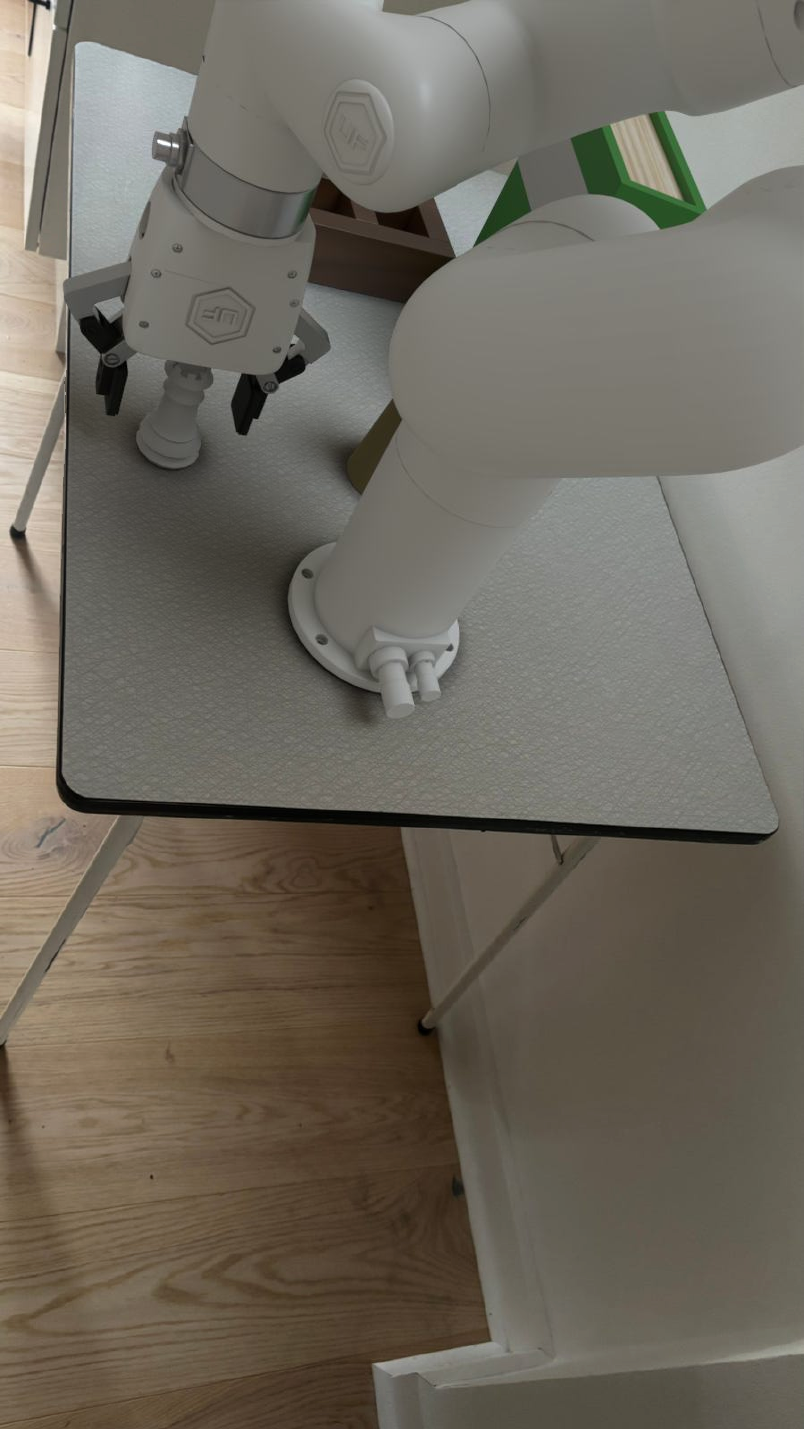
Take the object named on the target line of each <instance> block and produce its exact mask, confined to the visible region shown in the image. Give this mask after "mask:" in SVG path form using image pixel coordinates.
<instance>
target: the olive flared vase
mask: <svg viewBox="0 0 804 1429" xmlns="http://www.w3.org/2000/svg"><path fill="white" fill-rule="evenodd" d="M401 421H402V418H401V416H400V414H399V412H398V410H397V408H396V406H395V403H394V400H393V397H392V398H391V399H390V401H389V402H388V403H387V405H386V406H385V408H384V409H383V411H382V412H381V413H380V415H379V416H378V418H377V419H376V420H375V422H374V423H373V424H372V426H371V427H370V428H369V430H368V432H366V434H365V436H364V437H363V438H362V440H361V441H360V442H359V444H358V445H357V447H356V448H355V449H354V451H353V452H352V454H351V455H350V457H349V458H348V460H347V461H346V473H347V477H348V480H349V481H350V482H351V484H352V485H353V487H354V488H355V489H356V491H358V492H359V493H360V494H361V495H362V494H363V492H364V490H365V488H366V486H367V485H368V483H369V481H370V479H371V477H372V475H373V473H374V471H375V469H376V468H377V466H378V464H379V462H380V460H381V458H382V456H383V454H384V452H385V450H386V449H387V447H388V445H389V443H390V441H391V439H392V437H393V435H394V434H395V432H396V430H397V428H398V427H399V425H400V423H401Z"/></svg>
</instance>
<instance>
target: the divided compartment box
mask: <svg viewBox="0 0 804 1429" xmlns="http://www.w3.org/2000/svg"><path fill="white" fill-rule="evenodd" d="M309 214H310V216H311V219H312V222H313V224H314V226H315V229H316V237H315V246H314V253H313V258H312V264H311V269H310V274H309V278H308V282H307V283H312V284H317V285H321V286H325V287H326V286H327V287H330V288H335V289H339V290H343V291H344V290H345V291H349V292H352V293H357V294H361V295H362V294H363V295H367V296H370V297H376V298H380V299H385V300H390V301H394V302H398V303H403V304H406V303H407V301H408V300H409V299H410V297H411V296H412V295H413V293H414V292H415V291H416V290H417V288H418V287H419V286H420V285H421V284H422V283H423V282H424V281H425V280H426V279H427V278H429V277H430V276H431V275H432V274H433V273H434V272H436V271H437V270H439V269H440V268H441V267H443V266H444V265H446V264H447V263H448V262H450V261H451V260H453V259H455V258H456V257H457V255H456V253H455V251H454V248H453V246H452V242H451V240H450V237H449V235H448V231H447V229H446V226H445V223H444V221H443V217H442V214H441V213H440V210H439V208H438V204H437V202H436V199H435V197H434V198H432V199H430V200H428V201H426V202H424V203H422V204H420V205H417V206H415V207H413V208H410V209H407V210H404V211H400V212H389V213H384V212H378V211H374V210H370V209H367V208H365V207H363V206H361V205H359V204H357V203H355V202H354V201H353V200H351V199H350V198H349V197H347V196H346V195H345V194H344V193H343V192H342V191H341V190H340V189H339V188H338V187H337V186H336V185H335V184H334V183H333V182H332V181H331V180H330V179H329V178H328V177H327V175H326V174H325V173H324V172H323V175H322V177H321V180H320V183H319V186H318V188H317V191H316V194H315V196H314V199H313V202H312V205H311V207H310V210H309Z"/></svg>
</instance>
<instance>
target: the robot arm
mask: <svg viewBox="0 0 804 1429" xmlns="http://www.w3.org/2000/svg"><path fill="white" fill-rule="evenodd" d="M384 2H385V0H215V3H214V5H213V6H214V7H213V11H212V15H211V19H210V24H209V27H208V31H207V36H206V40H205V44H204V47H203V51H202V57H201V60H200V65H199V68H198V69H199V70H198V72H197V77H196V81H195V85H194V89H193V93H192V97H191V102H190V106H189V108H188V113H187V115H184V116H183V119H182V123H181V127H178V129H177V131H176V133H175V132H169V133H165V132H161V131H157V130H155V131H154V134H153V138H152V144H151V158H152V159H153V160H156V161H159V162H163V163H165V166H164V168H163V170H162V171H161V173H160V175H159V177H158V178H157V181H156V183H155V184H154V186H153V188H152V190H151V193H150V195H149V198H148V199H147V201H146V204H145V207H144V209H143V211H142V213H141V216H140V219H139V222H138V224H137V227H136V230H135V232H134V236H133V239H132V241H131V245H130V248H129V251H128V254H127V258H126V261H123V262H120V263H116V264H113V265H109V266H106V267H102V268H99V269H96V270H92V271H89V272H86V273H81V274H79V275H75V276H72V277H68V278H66V279H64V280H63V282H62V289H63V290H62V291H63V292H62V293H63V299H64V302H65V304H66V306H67V308H68V310H69V311H70V314H71V315H72V317H73V319H74V320H75V321H76V323H77V325H78V326H79V330H80V333H81V335H83V337H84V338H85V339H86V340H87V342H88V343H90V345H91V346H92V347H93V348H94V349H95V350H96V352H98V353H99V360H98V364H97V370H96V374H95V381H94V382H95V384H94V385H95V394H96V395H97V396H98V395H99V396H103V397H104V407H105V415H106V416H107V417H108V416H109V417H116V416H118V415H119V413H120V410H121V404H122V400H123V396H124V393H125V388H126V384H127V380H128V376H129V367H128V360H129V359H131V358H132V357H133V356H134V355H137V353H139V354H141V355H144V356H147V357H151V358H155V359H159V360H160V359H161V360H165V361H167V360H170V361H176V362H181V363H187V364H192V365H198V366H204V367H209V368H211V369H216V370H222V371H227V372H233V373H238V374H240V376H239V378H238V382H237V384H236V388H235V390H234V393H233V395H232V399H231V401H230V409H231V413H232V419H233V425H234V430H235V433H237V435H238V436H242V437H243V436H244V437H245V436H246V437H247V436H248V434H249V432H250V428H251V426H252V424H253V420H259V418H260V416H261V414H262V412H263V409H264V406H265V403H266V401H267V399H268V396H269V395H271V394H275V393H277V392H278V390H280V385H281V384H282V383H284V382H286V381H289V380H291V379H293V378H296V377H297V376H300V375H301V374H303V373H304V372H305V371H306V369H307V366H308V365H312V364H313V363H315V362H316V361H317V360H319V359H320V358H322V357H324V356H325V355H326V354H327V353H329V352H330V351H331V348H332V345H331V341H330V337H329V334H328V332H327V330H326V329H325V328H324V327H322V325H321V324H320V323H319V322H317V320H316V319H314V317H313V316H311V314H309V313H308V311H307V310H305V309H304V308H303V307H302V306H303V302H304V299H305V294H306V291H307V286H308V283H309V282H308V278H309V274H310V269H311V264H312V258H313V253H314V246H315V237H316V229H315V226H314V224H313V222H312V219H311V216H310V214H309V210H310V207H311V205H312V202H313V199H314V196H315V194H316V191H317V188H318V186H319V183H320V180H321V177H322V175H323V172H324V173H325V174H326V175H327V177H328V178H329V179H330V180H331V181H332V182H333V183H334V184H335V185H336V186H337V187H338V188H339V189H340V190H341V191H342V192H343V193H344V194H345V195H346V196H347V197H349V198H350V199H351V200H353V201H354V202H355V203H357V204H359V205H361V206H363V207H365V208H367V209H370V210H374V211H378V212H384V213H389V212H400V211H404V210H407V209H410V208H413V207H415V206H417V205H420V204H422V203H424V202H426V201H428V200H430V199H432V198H434V199H435V197H438V196H440V195H441V194H444V193H445V192H447V191H449V190H451V189H454V188H455V187H457V186H458V185H460V184H461V183H463V182H466V181H467V180H470V179H473V178H474V177H476V176H478V175H480V174H482V173H484V172H487V171H490V170H491V169H494V168H495V167H498V166H500V165H502V164H505V163H507V162H509V161H512V160H514V159H518V157H519V156H522V155H524V154H527V153H530V152H532V151H535V150H538V149H541V148H543V147H546V146H549V145H552V144H555V143H557V142H560V141H563V140H566V139H569V138H572V137H575V136H577V135H580V134H583V133H586V132H589V131H592V130H595V129H598V128H601V127H604V126H607V125H610V124H613V123H616V122H619V121H623V120H626V119H630V118H633V117H637V116H641V115H645V114H649V113H654V112H660V111H665V112H677V113H680V114H683V115H686V116H688V117H703V116H708V115H713V114H718V113H719V114H720V113H723V112H726V111H730V110H733V109H737V108H740V107H742V106H745V105H749V104H751V103H753V102H757V101H760V100H763V99H765V98H769V97H772V96H774V95H777V94H781V93H783V92H787V91H789V90H793V89H796V88H798V87H801V86H804V0H466V1H464V2H461V3H457V4H452V5H448V6H443V7H438V8H435V9H432V10H429V11H428V10H427V11H425V12H420V13H416V14H413V15H412V14H411V15H409V14H401V13H393V12H388V11H387V12H386V11H383V8H384ZM706 209H707V210H706V211H705V212H704V213H702V214H701V215H700V216H698V217H697V218H696V219H695V220H693V221H691V222H688V223H685V224H682V225H678V226H674V227H670V228H666V229H659V227H658V226H657V225H656V224H655V222H654V221H653V220H652V219H651V218H650V217H649V216H647V215H646V214H645V213H644V212H643V211H641V210H640V209H638V208H637V207H635V206H634V205H632V204H630V203H628V202H626V201H624V200H621V199H618V198H614V197H610V196H604V195H592V194H586V195H576V196H572V197H567V198H563V199H560V200H557V201H553V202H551V203H548V204H546V205H544V206H541V207H539V208H537V209H535V210H533V211H532V212H530V213H528V214H526V215H524V216H523V217H521V218H519V219H517V220H516V221H514V222H512V223H511V224H509V225H507V226H506V227H504V228H502V229H500V230H499V231H497V232H496V233H495V234H493V235H492V236H490V237H489V238H488V239H486V240H485V241H483V242H482V243H480V244H478V245H476V246H475V247H473V246H472V247H473V248H472V247H471V248H469V249H468V250H466V251H465V252H463V253H461V254H459V255H458V256H456V258H455V259H453V260H451V261H450V262H448V263H447V264H446V265H444V266H443V267H441V268H440V269H439V270H437V271H436V272H434V273H433V274H432V275H431V276H430V277H429V278H427V279H426V280H425V281H424V282H423V283H422V284H421V285H420V286H419V287H418V288H417V290H416V291H415V292H414V293H413V295H412V296H411V297H410V299H409V300H408V301H407V303H405V304H404V306H403V308H402V310H401V312H400V314H399V316H398V318H397V320H396V323H395V325H394V328H393V332H392V334H391V338H390V341H389V347H388V354H387V376H388V377H387V378H388V385H389V389H390V393H391V397H392V398H393V400H394V403H395V406H396V408H397V410H398V412H399V414H400V416H401V418H402V421H401V423H400V425H399V427H398V428H397V430H396V432H395V434H394V435H393V437H392V439H391V441H390V443H389V445H388V447H387V449H386V450H385V452H384V454H383V456H382V458H381V460H380V462H379V464H378V466H377V468H376V469H375V471H374V473H373V475H372V477H371V479H370V481H369V483H368V485H367V486H366V488H365V490H364V492H363V494H361V496H360V497H359V500H358V501H357V504H356V506H355V507H354V508H353V511H352V513H351V515H350V516H349V519H348V520H347V522H346V525H345V526H344V528H343V530H342V531H341V534H340V536H339V537H338V540H337V541H333V542H329V543H327V544H322V545H321V546H319V547H317V548H315V549H314V550H311V551H310V553H308V554H307V555H306V556H305V557H304V558H302V560H301V561H300V563H299V564H298V566H297V567H296V569H295V572H294V574H293V577H292V579H291V581H290V584H289V588H288V593H287V605H288V613H289V616H290V621H291V624H292V627H293V628H294V631H295V633H296V634H297V636H298V638H299V640H300V642H301V643H302V644H303V646H304V647H305V648H306V649H307V651H308V652H309V653H310V655H311V656H312V657H313V658H314V659H315V660H316V661H317V662H318V663H319V664H320V665H322V667H324V669H326V670H328V671H329V672H330V673H332V674H333V675H335V676H336V677H338V678H339V679H340V680H342V681H345V682H346V683H349V684H351V685H353V686H355V687H357V688H360V689H363V690H367V691H370V692H373V693H380V694H381V698H382V703H383V707H384V711H385V715H386V717H387V718H389V719H393V720H398V719H399V720H400V719H404V718H406V717H408V716H410V715H412V714H413V713H414V712H415V710H416V705H415V701H414V698H413V693H414V692H418V693H419V698H420V700H421V701H422V702H426V703H429V702H434V701H436V700H438V699H439V698H441V696H442V690H441V687H440V684H439V679H441V678H442V677H443V676H444V674H445V673H446V672H447V670H448V669H449V668H450V667H451V665H452V663H453V662H454V660H455V658H456V657H457V654H458V649H459V646H460V626H459V621H458V618H459V617H460V616H461V614H462V613H463V612H464V610H465V609H466V608H467V606H468V605H469V604H470V602H471V601H472V599H473V598H474V597H475V596H476V594H477V593H478V591H479V590H480V589H481V587H482V586H483V584H484V583H485V582H486V581H487V579H488V578H489V577H490V575H491V574H492V572H493V571H494V570H495V568H496V567H497V566H498V564H499V563H500V562H501V560H502V559H503V558H504V556H505V555H506V554H507V552H509V550H510V548H511V547H512V546H513V544H514V543H515V541H516V540H518V538H519V536H520V534H521V533H522V532H523V531H524V529H525V528H526V526H527V525H528V524H529V523H530V522H531V520H532V518H534V516H536V515H537V513H538V512H539V510H540V509H542V508H541V507H543V505H544V504H545V503H546V501H547V500H548V498H549V497H550V495H551V494H552V493H553V491H554V490H555V489H556V488H557V486H558V485H559V484H560V482H561V481H562V480H563V479H594V478H597V479H598V478H642V477H644V478H645V477H678V476H679V477H680V476H682V477H683V476H699V475H702V476H703V475H713V474H723V473H727V472H733V471H734V472H735V471H738V470H742V469H746V468H749V467H754V466H758V465H760V464H763V463H766V462H769V461H772V460H775V459H778V458H780V457H783V456H785V455H787V454H789V453H791V452H793V451H795V450H796V449H799V448H801V447H802V446H803V445H804V164H801V165H791V166H786V167H780V168H777V169H774V170H771V171H768V172H766V173H763V174H760V175H758V176H754V177H753V178H750V179H748V180H746V181H745V182H743V183H741V185H739V186H738V187H736V188H735V189H733V190H732V191H730V192H729V193H728V194H726V195H725V196H723V197H722V198H721V199H719V200H718V201H717V202H715V203H714V204H712V205H711V206H710V207H709V208H706ZM116 298H119V299H120V301H121V303H122V304H123V307H122V308H121V309H120V310H118V311H117V312H116V313H114V314H113V315H112V316H110V317H109V318H106V316H105V315H104V314H103V312H102V311H101V310H100V309H99V308H98V307H97V306H96V304H98V303H102V302H105V301H109V300H111V299H116ZM294 335H295V337H297V338H298V340H297V341H296V343H292V341H293V338H294Z"/></svg>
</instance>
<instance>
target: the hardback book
mask: <svg viewBox="0 0 804 1429" xmlns="http://www.w3.org/2000/svg"><path fill="white" fill-rule="evenodd" d="M586 194H592V195H604V196H610V197H614V198H618V199H621V200H624V201H626V202H628V203H630V204H632V205H634V206H635V207H637V208H638V209H640V210H641V211H643V212H644V213H645V214H646V215H647V216H649V217H650V218H651V219H652V220H653V221H654V222H655V224H656V225H657V226H658V227H659V229H666V228H670V227H674V226H678V225H682V224H685V223H688V222H691V221H693V220H695V219H696V218H697V217H698V216H700V215H701V214H702V213H704V212H705V211H706V210H707V209H708V208H707V206H706V204H705V202H704V199H703V197H702V195H701V193H700V190H699V187H698V186H697V183H696V180H695V179H694V175H692V170H691V169H690V167H689V164H688V163H687V161H686V158H685V155H684V153H683V150H682V148H681V146H680V143H679V141H678V138H677V137H676V134H675V132H674V129H673V127H672V124H671V122H670V121H669V118H668V115H667V114H666V111H660V112H654V113H649V114H645V115H641V116H637V117H633V118H630V119H626V120H623V121H619V122H616V123H613V124H610V125H607V126H604V127H601V128H598V129H595V130H592V131H589V132H586V133H583V134H580V135H577V136H575V137H572V138H569V139H566V140H563V141H560V142H557V143H555V144H552V145H549V146H546V147H543V148H541V149H538V150H535V151H532V152H530V153H527V154H524V155H522V156H519V157H517V158H516V162H515V164H514V165H513V167H512V169H511V171H510V173H509V175H508V177H507V179H506V181H505V183H504V185H503V187H502V189H501V190H500V193H499V194H498V197H497V198H496V200H495V203H494V204H493V206H492V208H491V210H490V211H489V214H488V216H487V218H486V219H485V221H484V224H483V226H482V228H481V230H480V232H479V234H478V236H477V238H476V239H475V241H474V244H473V245H472V247H471V248H473V247H475V246H476V245H478V244H480V243H482V242H483V241H485V240H486V239H488V238H489V237H490V236H492V235H493V234H495V233H496V232H497V231H499V230H500V229H502V228H504V227H506V226H507V225H509V224H511V223H512V222H514V221H516V220H517V219H519V218H521V217H523V216H524V215H526V214H528V213H530V212H532V211H533V210H535V209H537V208H539V207H541V206H544V205H546V204H548V203H551V202H553V201H557V200H560V199H563V198H567V197H572V196H576V195H586Z"/></svg>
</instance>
